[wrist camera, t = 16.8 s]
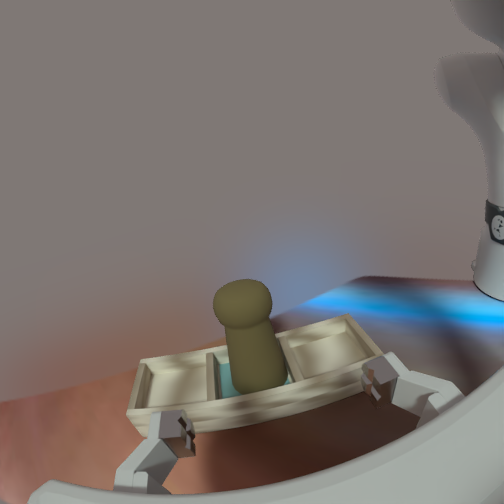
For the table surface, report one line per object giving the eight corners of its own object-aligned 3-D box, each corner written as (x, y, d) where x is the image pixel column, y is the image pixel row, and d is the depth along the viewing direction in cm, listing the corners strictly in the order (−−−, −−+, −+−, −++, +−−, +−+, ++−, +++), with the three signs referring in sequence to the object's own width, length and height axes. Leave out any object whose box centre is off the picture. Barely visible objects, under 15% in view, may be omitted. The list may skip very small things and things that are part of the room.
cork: (227, 366, 29) (201, 281, 26) (277, 352, 30) (262, 265, 27) (237, 403, 24) (207, 312, 20) (296, 385, 25) (283, 291, 21)
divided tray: (348, 338, 33) (348, 313, 32) (382, 383, 24) (386, 356, 23) (152, 382, 31) (140, 359, 30) (143, 436, 22) (126, 415, 21)
